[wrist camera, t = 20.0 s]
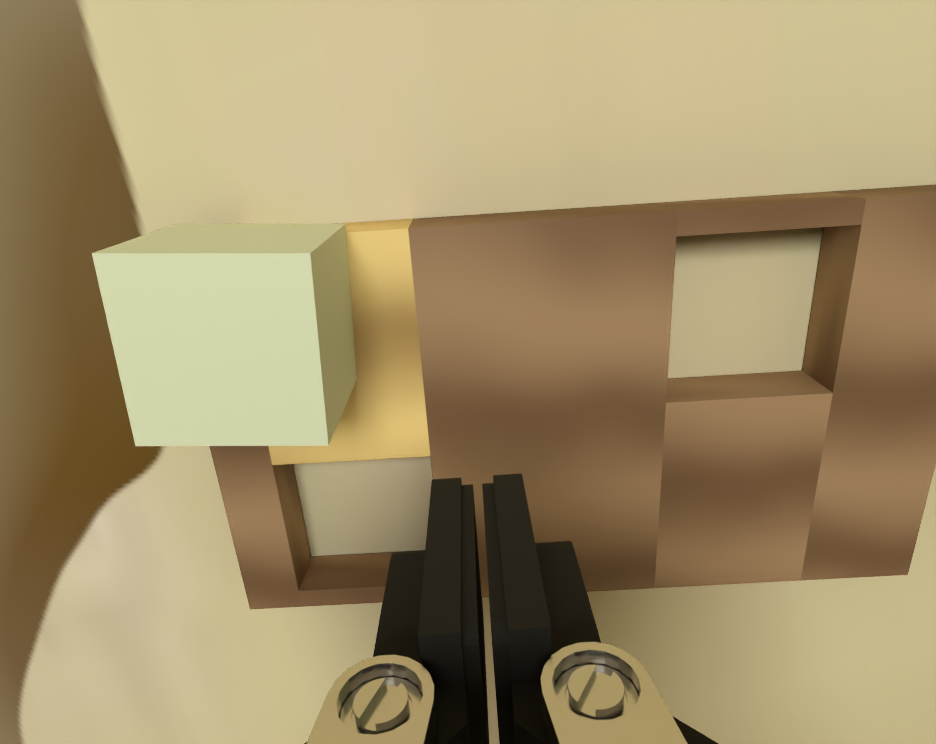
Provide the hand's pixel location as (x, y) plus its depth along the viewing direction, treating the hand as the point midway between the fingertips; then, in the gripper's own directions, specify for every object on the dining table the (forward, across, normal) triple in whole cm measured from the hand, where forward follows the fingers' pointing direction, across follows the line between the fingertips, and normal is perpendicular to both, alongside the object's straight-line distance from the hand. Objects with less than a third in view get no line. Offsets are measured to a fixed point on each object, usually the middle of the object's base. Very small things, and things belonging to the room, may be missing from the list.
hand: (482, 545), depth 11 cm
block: (+9, +6, -3) cm, 11 cm away
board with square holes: (+11, -3, +2) cm, 12 cm away
